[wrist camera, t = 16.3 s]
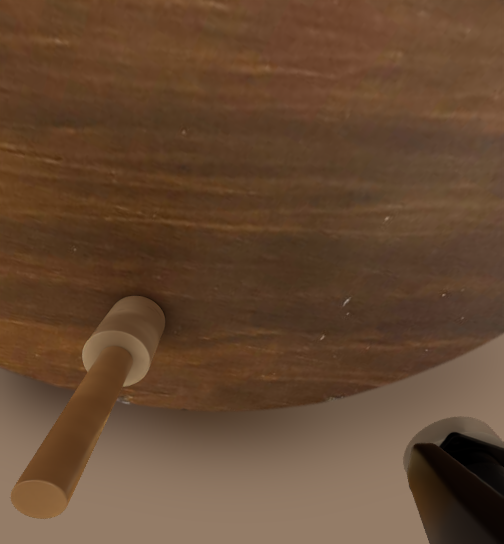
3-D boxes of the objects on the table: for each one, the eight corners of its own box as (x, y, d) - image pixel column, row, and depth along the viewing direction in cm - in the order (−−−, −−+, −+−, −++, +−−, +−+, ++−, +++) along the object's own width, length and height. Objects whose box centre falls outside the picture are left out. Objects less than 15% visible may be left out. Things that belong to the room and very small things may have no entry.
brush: (172, 306, 20) (108, 476, 10) (155, 350, 21) (79, 547, 11) (119, 287, 20) (-10, 446, 9) (103, 333, 21) (-28, 523, 10)
